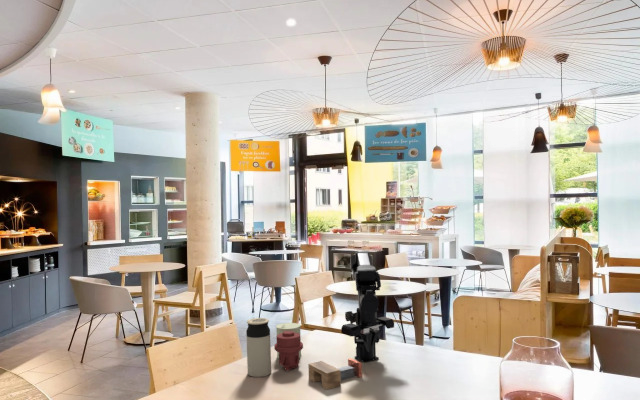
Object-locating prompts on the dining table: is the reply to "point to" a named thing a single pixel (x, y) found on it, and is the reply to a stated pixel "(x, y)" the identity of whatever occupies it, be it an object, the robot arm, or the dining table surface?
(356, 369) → the pin
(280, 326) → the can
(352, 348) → the dining table surface
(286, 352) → the mechanical component
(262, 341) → the travel mug
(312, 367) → the block
